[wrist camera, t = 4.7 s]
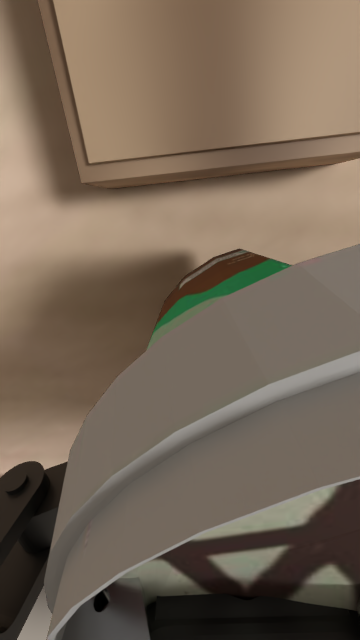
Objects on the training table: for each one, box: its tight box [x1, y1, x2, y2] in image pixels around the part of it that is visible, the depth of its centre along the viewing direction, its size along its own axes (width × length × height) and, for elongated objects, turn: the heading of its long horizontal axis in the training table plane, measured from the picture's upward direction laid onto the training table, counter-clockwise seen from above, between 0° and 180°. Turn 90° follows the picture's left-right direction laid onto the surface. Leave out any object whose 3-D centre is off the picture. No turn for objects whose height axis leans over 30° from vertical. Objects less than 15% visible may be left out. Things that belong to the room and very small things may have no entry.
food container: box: [44, 244, 360, 640], centre depth 8 cm, size 12×6×10 cm, turn 13°
